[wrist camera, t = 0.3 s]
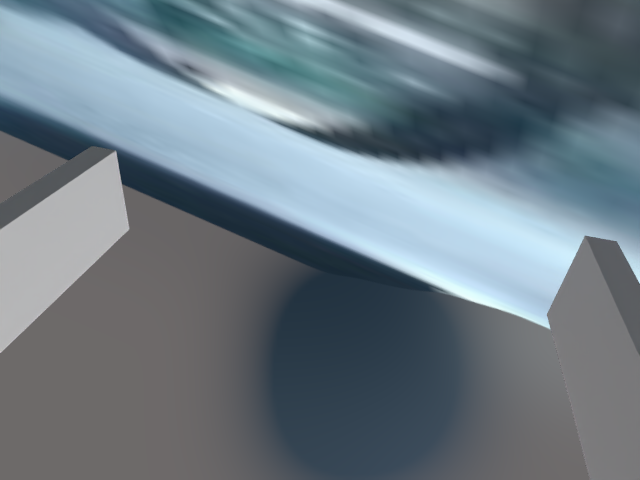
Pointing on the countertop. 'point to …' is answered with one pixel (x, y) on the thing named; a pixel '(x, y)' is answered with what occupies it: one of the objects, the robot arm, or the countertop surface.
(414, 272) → the countertop surface
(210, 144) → the countertop surface
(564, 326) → the robot arm
